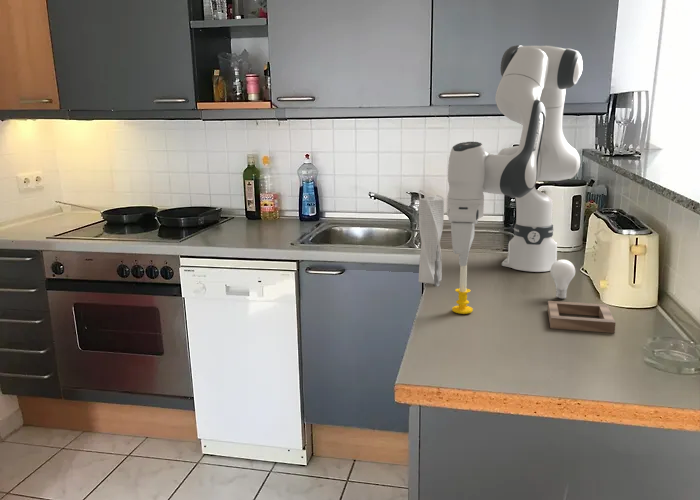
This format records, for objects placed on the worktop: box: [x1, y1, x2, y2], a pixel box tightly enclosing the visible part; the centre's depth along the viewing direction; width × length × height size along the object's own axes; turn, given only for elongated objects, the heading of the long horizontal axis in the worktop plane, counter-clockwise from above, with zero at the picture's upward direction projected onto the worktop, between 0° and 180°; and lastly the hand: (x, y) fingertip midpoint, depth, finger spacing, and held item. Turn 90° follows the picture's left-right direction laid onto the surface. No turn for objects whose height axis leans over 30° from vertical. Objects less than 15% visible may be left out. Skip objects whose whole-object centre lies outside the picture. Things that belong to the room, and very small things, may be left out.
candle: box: [451, 264, 474, 315], centre depth 152 cm, size 5×5×16 cm
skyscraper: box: [418, 190, 445, 287], centre depth 177 cm, size 8×8×28 cm
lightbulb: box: [549, 259, 576, 300], centre depth 162 cm, size 6×6×11 cm
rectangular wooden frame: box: [547, 300, 616, 334], centre depth 146 cm, size 14×14×2 cm
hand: (463, 263), depth 151 cm, fingers closed on candle, 2 cm apart
